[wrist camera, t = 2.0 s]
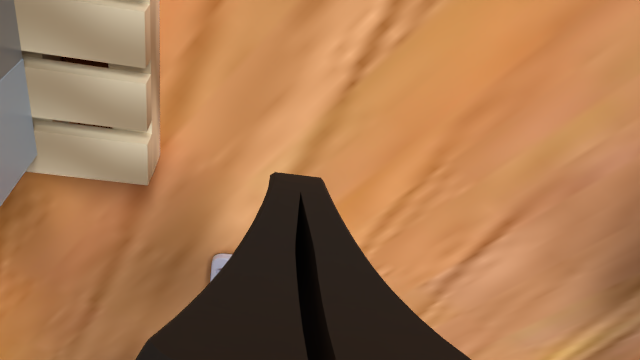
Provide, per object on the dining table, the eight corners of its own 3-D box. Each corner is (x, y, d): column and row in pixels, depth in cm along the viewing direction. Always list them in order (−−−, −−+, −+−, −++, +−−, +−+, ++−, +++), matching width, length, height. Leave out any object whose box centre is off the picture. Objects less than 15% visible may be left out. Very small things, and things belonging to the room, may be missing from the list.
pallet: (161, 152, 23) (148, 187, 21) (-57, 125, 21) (-94, 160, 19) (160, -94, 17) (142, -79, 15) (-139, -152, 16) (-206, -144, 13)
